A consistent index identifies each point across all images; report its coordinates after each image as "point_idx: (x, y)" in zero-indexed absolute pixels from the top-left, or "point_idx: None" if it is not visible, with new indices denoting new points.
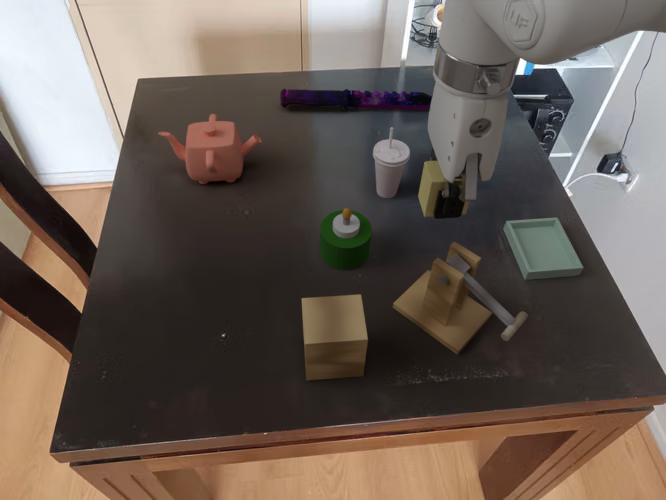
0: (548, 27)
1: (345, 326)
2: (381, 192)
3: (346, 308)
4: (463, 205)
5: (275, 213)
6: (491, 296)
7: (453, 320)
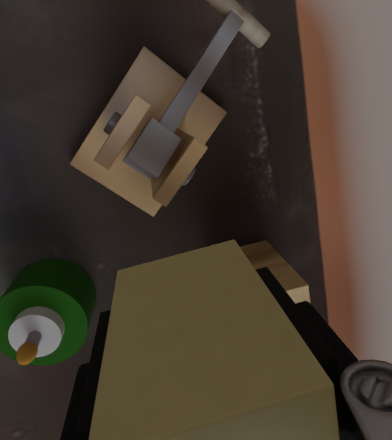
0: None
1: None
2: None
3: None
4: (292, 300)
5: (5, 401)
6: (196, 65)
7: None
